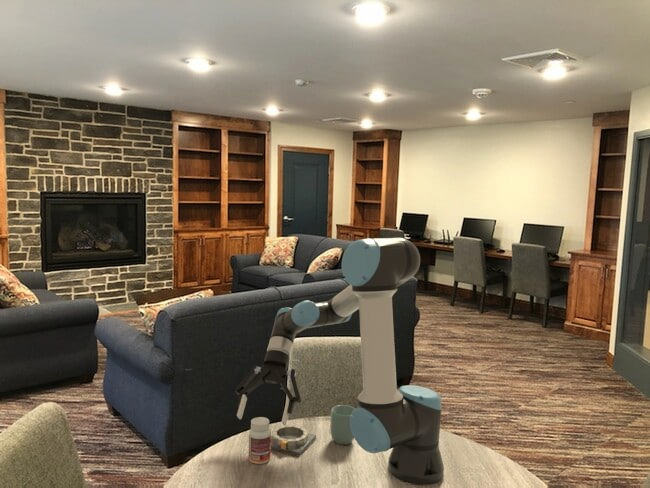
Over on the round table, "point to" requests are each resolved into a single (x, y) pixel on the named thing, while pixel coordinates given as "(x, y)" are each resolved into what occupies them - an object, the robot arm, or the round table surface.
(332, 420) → the cup
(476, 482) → the round table surface
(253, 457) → the pill bottle
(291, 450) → the hub plate
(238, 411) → the robot arm
